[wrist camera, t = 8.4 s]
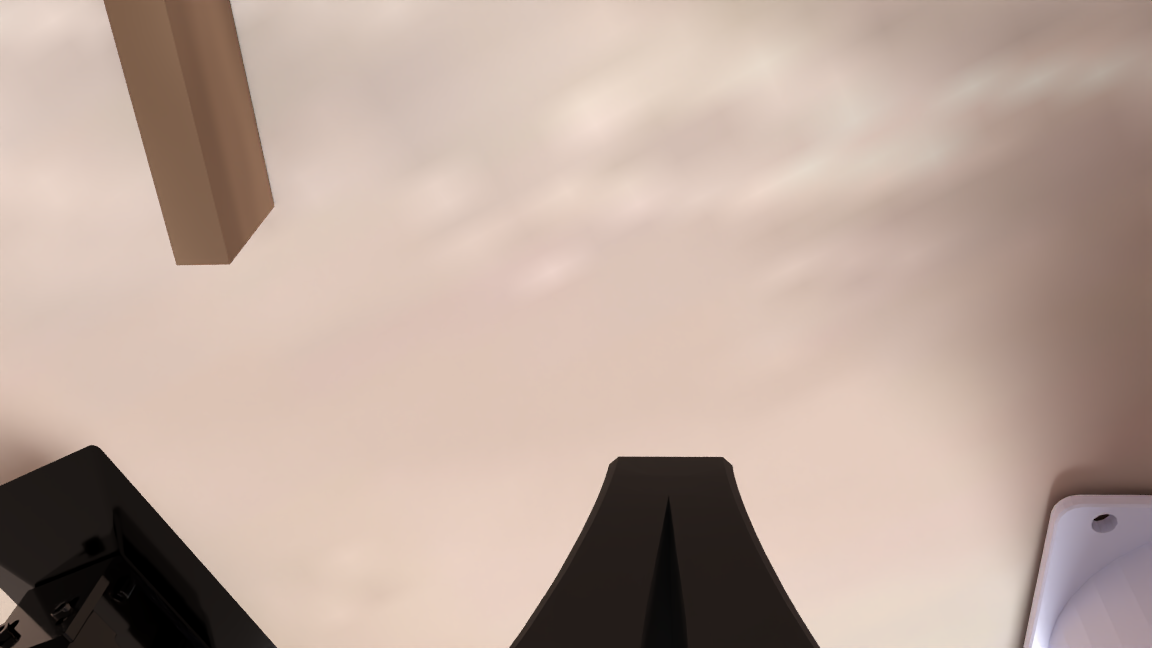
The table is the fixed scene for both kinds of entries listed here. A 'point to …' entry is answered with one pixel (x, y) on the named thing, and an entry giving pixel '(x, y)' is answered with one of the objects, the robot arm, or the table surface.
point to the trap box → (194, 122)
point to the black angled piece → (105, 567)
